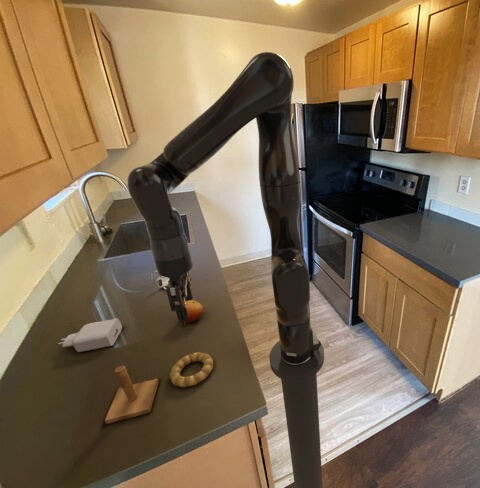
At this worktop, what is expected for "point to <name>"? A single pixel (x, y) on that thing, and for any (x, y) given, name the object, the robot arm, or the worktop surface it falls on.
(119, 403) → the wooden peg stand
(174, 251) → the robot arm
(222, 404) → the worktop surface
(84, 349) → the charger
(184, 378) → the ring
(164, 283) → the wall mount rack
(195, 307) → the fruit
